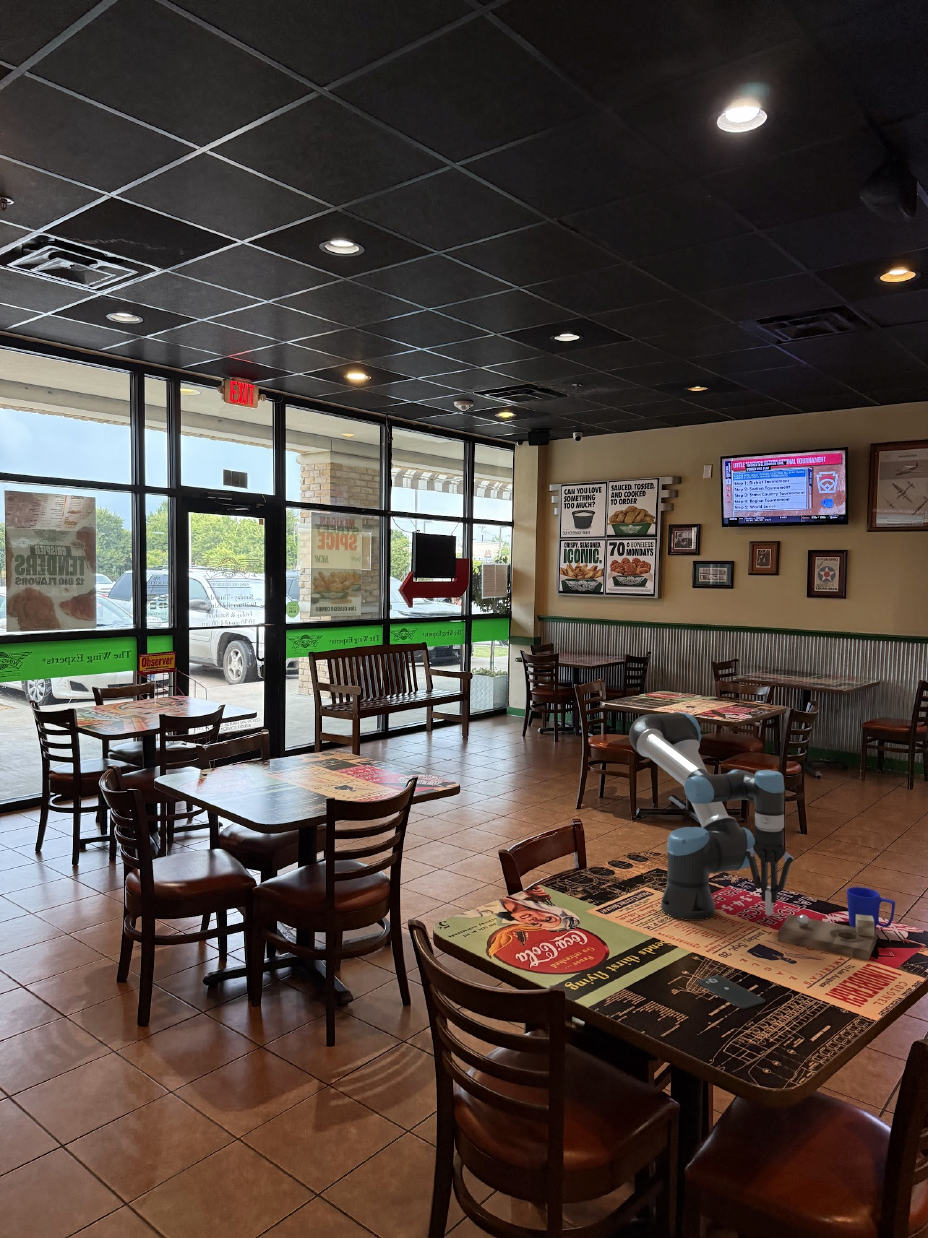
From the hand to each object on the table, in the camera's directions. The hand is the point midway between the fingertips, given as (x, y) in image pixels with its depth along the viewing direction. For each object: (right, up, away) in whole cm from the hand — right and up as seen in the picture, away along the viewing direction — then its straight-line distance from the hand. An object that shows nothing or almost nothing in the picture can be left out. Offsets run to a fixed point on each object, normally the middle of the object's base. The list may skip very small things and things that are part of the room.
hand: (769, 913), depth 234 cm
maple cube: (+22, -2, -9) cm, 24 cm away
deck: (+12, -5, -8) cm, 15 cm away
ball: (+7, 0, -5) cm, 9 cm away
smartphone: (-22, -6, -36) cm, 43 cm away
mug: (+27, -5, -1) cm, 28 cm away
